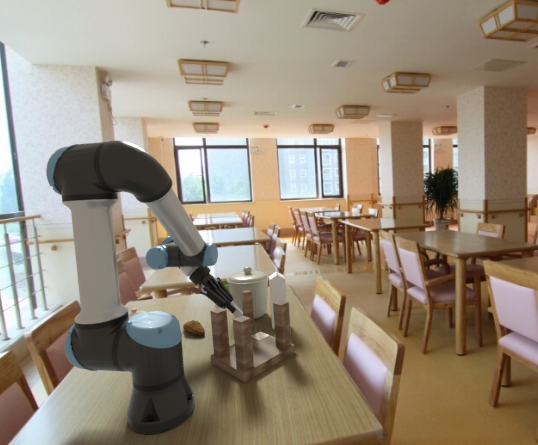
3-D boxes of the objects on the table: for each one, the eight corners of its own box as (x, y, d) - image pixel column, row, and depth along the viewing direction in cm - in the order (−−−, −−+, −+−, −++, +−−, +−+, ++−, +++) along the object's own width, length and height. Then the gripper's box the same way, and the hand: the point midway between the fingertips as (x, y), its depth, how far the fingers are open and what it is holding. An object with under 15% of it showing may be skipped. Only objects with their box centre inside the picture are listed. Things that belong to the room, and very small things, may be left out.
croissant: (176, 331, 123) (175, 318, 123) (192, 325, 128) (191, 313, 127) (195, 341, 113) (194, 327, 113) (211, 334, 118) (210, 321, 118)
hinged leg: (246, 345, 101) (242, 300, 100) (235, 344, 102) (232, 300, 101) (256, 330, 111) (253, 290, 110) (246, 330, 112) (243, 290, 111)
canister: (221, 316, 135) (217, 268, 133) (253, 304, 147) (250, 260, 145) (247, 327, 122) (243, 274, 120) (280, 314, 134) (277, 265, 132)
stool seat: (244, 382, 86) (240, 323, 84) (211, 362, 97) (206, 310, 96) (295, 352, 100) (292, 301, 99) (260, 338, 112) (257, 293, 110)
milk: (286, 321, 125) (283, 267, 124) (288, 327, 119) (285, 270, 118) (271, 322, 125) (268, 268, 123) (272, 329, 119) (269, 271, 117)
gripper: (197, 272, 121) (241, 316, 119) (180, 282, 109) (228, 332, 106) (209, 258, 119) (254, 303, 117) (193, 267, 107) (243, 318, 104)
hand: (242, 317), depth 112 cm, fingers closed
